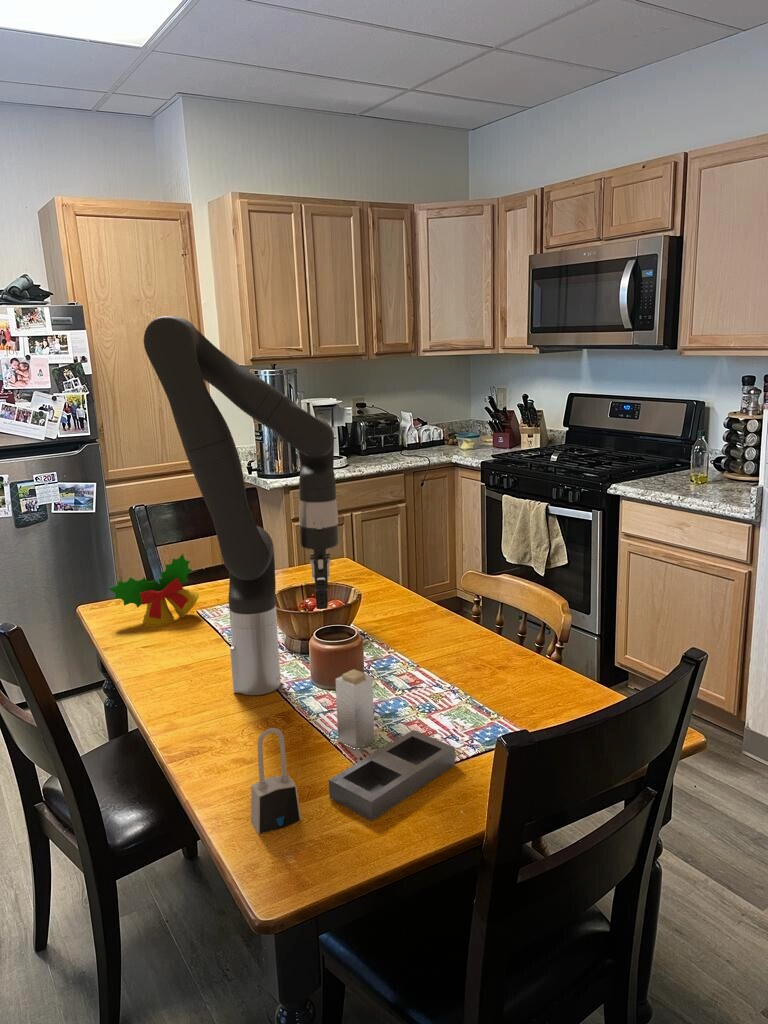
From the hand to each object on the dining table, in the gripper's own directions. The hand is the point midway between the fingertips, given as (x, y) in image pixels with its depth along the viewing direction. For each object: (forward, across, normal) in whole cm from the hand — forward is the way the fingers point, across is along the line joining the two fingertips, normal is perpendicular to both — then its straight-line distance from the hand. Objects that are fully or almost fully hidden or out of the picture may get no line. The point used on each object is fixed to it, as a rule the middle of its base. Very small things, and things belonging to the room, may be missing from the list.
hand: (321, 601), depth 155 cm
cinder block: (+19, +36, +10) cm, 42 cm away
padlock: (+20, +44, -8) cm, 49 cm away
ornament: (+17, -44, -41) cm, 63 cm away
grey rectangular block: (+19, +23, +5) cm, 30 cm away
